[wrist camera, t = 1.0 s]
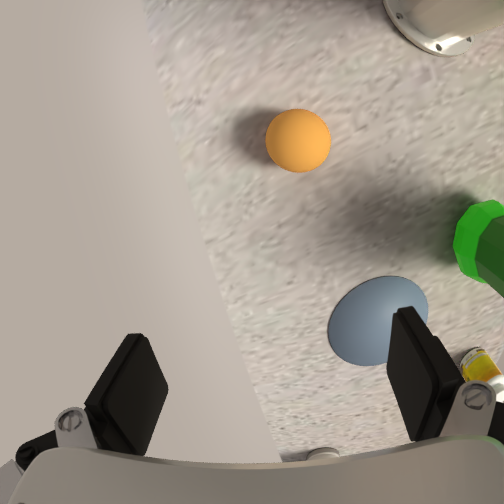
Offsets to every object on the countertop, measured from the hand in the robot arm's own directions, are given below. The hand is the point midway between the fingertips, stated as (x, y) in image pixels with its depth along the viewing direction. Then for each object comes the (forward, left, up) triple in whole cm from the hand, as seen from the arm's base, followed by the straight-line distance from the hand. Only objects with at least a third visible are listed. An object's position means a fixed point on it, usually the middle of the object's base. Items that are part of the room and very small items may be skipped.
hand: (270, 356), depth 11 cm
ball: (-6, -5, -20) cm, 22 cm away
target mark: (-6, +20, -23) cm, 31 cm away
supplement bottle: (-19, +37, -23) cm, 47 cm away
